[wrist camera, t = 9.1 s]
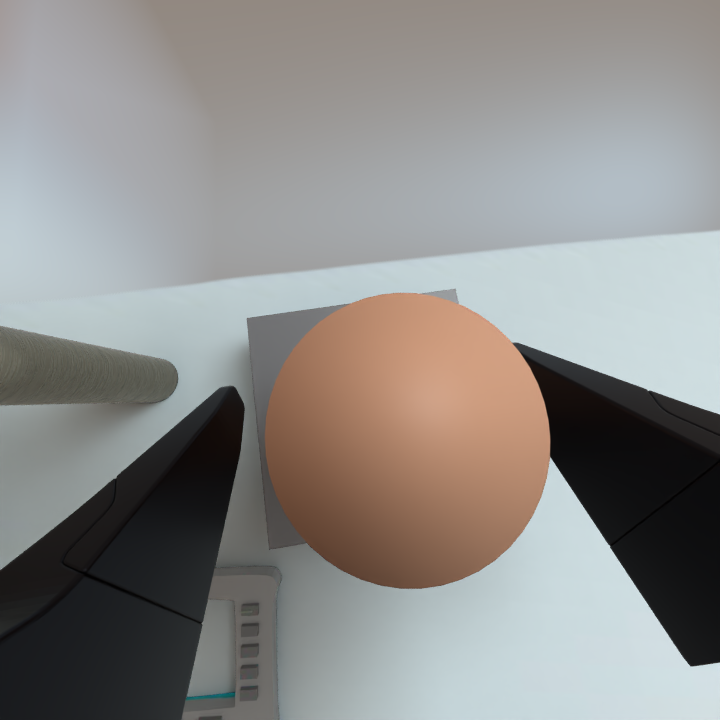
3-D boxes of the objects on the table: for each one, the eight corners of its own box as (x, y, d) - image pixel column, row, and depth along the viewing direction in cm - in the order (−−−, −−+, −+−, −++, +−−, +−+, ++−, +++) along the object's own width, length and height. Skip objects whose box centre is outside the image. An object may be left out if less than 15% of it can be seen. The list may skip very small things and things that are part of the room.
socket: (469, 483, 18) (502, 507, 14) (289, 514, 17) (269, 549, 13) (434, 311, 19) (455, 288, 15) (269, 335, 19) (246, 318, 15)
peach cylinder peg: (408, 381, 17) (562, 323, 5) (395, 452, 17) (534, 619, 4) (340, 366, 17) (304, 268, 5) (324, 436, 17) (228, 551, 4)
